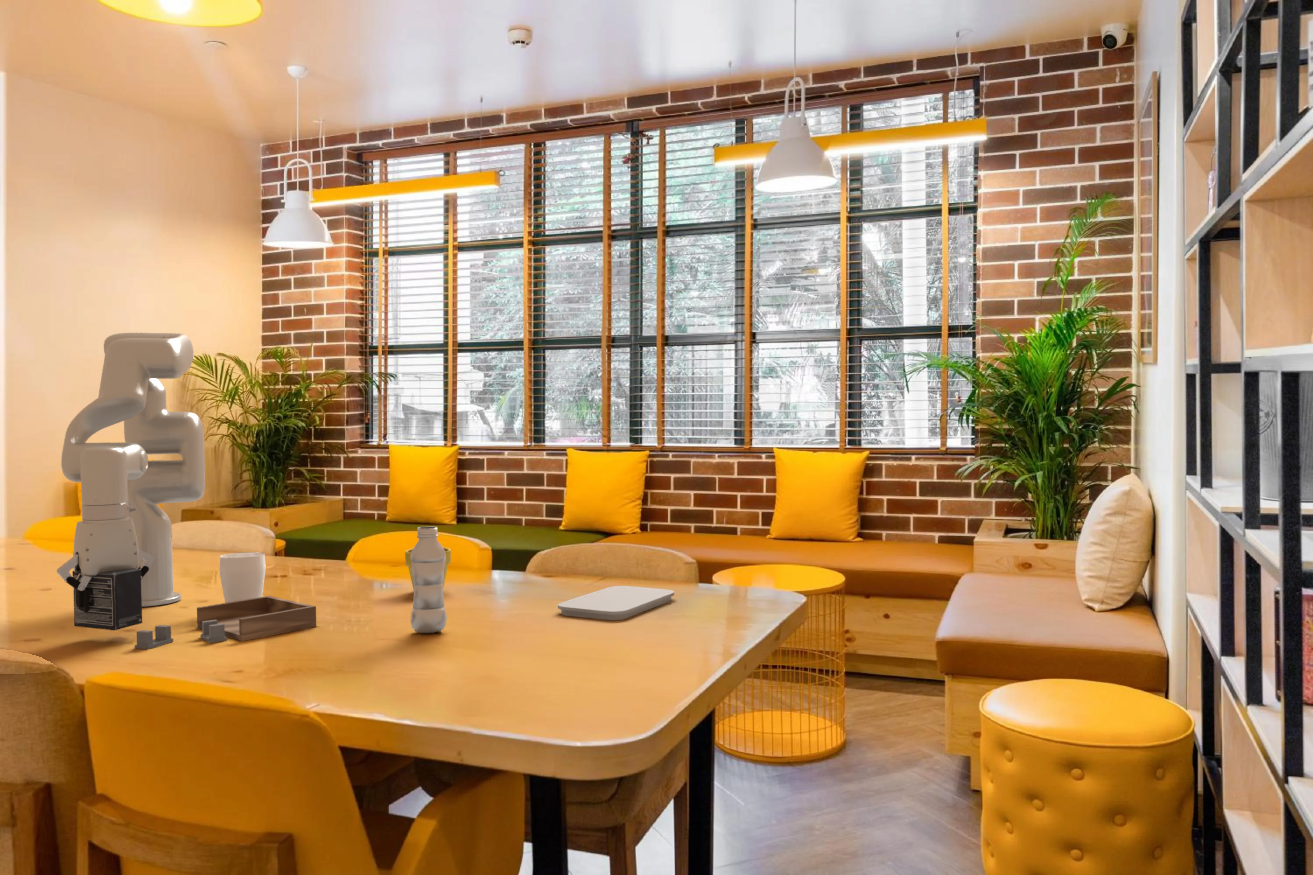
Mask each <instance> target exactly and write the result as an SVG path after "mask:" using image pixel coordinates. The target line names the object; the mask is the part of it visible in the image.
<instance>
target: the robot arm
mask: <svg viewBox="0 0 1313 875" xmlns="http://www.w3.org/2000/svg"><path fill="white" fill-rule="evenodd" d="M103 353H104V357H103V358H104V360H103V365H102V369H101V370H102V373H101V378H100V385H99V390H98V397H97V398H96V399H94V400H93V401H90V403H89V404H87V405H86V406H85V407H84V408H82V409H80V411H78V413H77V414H76V415H75V416H74V417H73V419H72V420H71V421H70V423H69V424H68V426H67V428H66V431H65V436H64V440H63V445H62V452H61V462H60V463H61V464H60V466H61V470H62V474H63V475H64V477H65V478H66V479H67V480H68V481H70V482H73V483H80V492H81V495H80V496H81V519H82V520H81V521H77V523H76V527H75V531H74V539H73V550H72V557H71V558H69V559H68V560H66V562H64V563H63V564H62V565H60V566H59V567H58V568H57V569H56V573H57V574H58V575H59V577H61V579H62V580H63V581H64V582H65V583H67V584H68V586H71V587H72V588H73V590H74V589H75V590H76V606H77V607H79V610H81V611H84V612H88V611H89V591H88V590H86V586H87V584H88V583H89V581H90V579H91V578H92V576H96V575H97V574H98V573H101V572H107V571H114V570H123V569H141V596H142V607H154V606H156V607H157V606H161V605H168V604H171V603H175V602H178V601H180V600H181V599H182V594H181V593H180V592H176V591H174V568H173V567H174V566H173V563H174V562H173V560H174V558H173V531H172V530H173V528H172V522H171V519H170V517H169V516H168V514H167V513H166V512H165V511H164V510H163V509H162V507H160V506H159V504H166V503H167V504H169V503H170V504H171V503H175V504H176V503H192V502H196V501H199V500H201V499H202V498H203V496H204V494H205V492H206V460H205V459H206V456H205V434H204V433H205V430H204V426H203V425H204V424H203V421H202V420H201V417H200V416H199V415H198V414H196V413H194V412H191V411H168V409H167V408H168V407H167V390H166V388H165V386H164V385H163V383H162V381H161V380H162V379H163V380H164V379H165V380H166V379H173V380H174V379H175V380H176V379H179V378H181V377H182V376H183V375H184V374H186V373H187V372H188V371H189V370H190V368H191V366H192V365H193V360H194V347H193V344H192V341H191V339H190V338H189V337H188V336H187V335H185V334H184V333H176V332H175V333H172V332H170V333H168V332H167V333H166V332H160V333H159V332H120V333H115V334H111V335H108V336H107V337H106V338H105V340H104V342H103ZM160 379H161V380H160ZM121 422H123V434H124V442H87V441H88V440H89V439H90V437H92V436H93V435H94V434H96V433H98V432H100V431H101V430H103V429H105V428H109V427H111V426H113V425H116V424H120V423H121ZM148 455H179V456H180V457H181V458H182V459H175V460H174V459H173V460H172V459H171V460H169V459H167V460H165V459H163V460H162V459H160V460H159V459H158V460H156V459H155V460H149V458H148ZM72 569H73V571H74V572H76V573H78V574H79V575H78V577H77V578H76V579H75V578H74V577H73V575H71V573H70V571H71V570H72ZM79 571H81V572H80V573H79Z"/></svg>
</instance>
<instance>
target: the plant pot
mask: <svg viewBox="0 0 1313 875" xmlns="http://www.w3.org/2000/svg"><path fill="white" fill-rule="evenodd" d="M442 547H443V548H444V550H445V553H446V560H445V568H444V578H443V589H444V588H445V583H446V577H447V573H448V569H449V568H448V567H449V565H450V564H451V562H452V550H451V548H449V547H444V546H442ZM412 550H413V548H410V549H409V548H408V549H406V550H405V551H404V561H405V562H404V563H405V566H407V567H408V570H409V571H408V572H409V575H410V580H411V581H410V582H411V584H412V588H413V589H412V590H413V591H414V582H413V572H412V565H411V557H410V556H411V553H412Z"/></svg>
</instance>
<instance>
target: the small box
mask: <svg viewBox="0 0 1313 875" xmlns="http://www.w3.org/2000/svg"><path fill="white" fill-rule="evenodd" d="M80 572H81V571H79V573H80ZM78 575H79V574H78V573H76V572H74V570H72V577H74V578H75V579H76V578H77V577H78ZM86 590H88V591H89V611H88V612H84V611H81V610H79V607H77V606H76V590H75V589H74V588H73V613H74V614H73V615H74V616H73V619H74V620H73V621H74V623H73V627H75V628H76V627H77V628H78V627H79V628H88V629H98V630H107V631H119V630H122V629H125V628H129V627H133V626H137V625H140V624H143V608H142V596H141V569H123V570H114V571H107V572H101V573H98V574H97V575H96V576H92V578H91V579H90V581H89V583H88V584H87V586H86Z"/></svg>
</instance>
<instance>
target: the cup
mask: <svg viewBox="0 0 1313 875" xmlns="http://www.w3.org/2000/svg"><path fill="white" fill-rule="evenodd" d="M265 555H266V554H265V552H258V551H252V552H251V551H247V552H233V553H226V554H221V555H220V556H219V576H220V581H221V582H220V583H221V588H222V594H223V599H224V603H228V602H234V601H241V600H247V599H253V598H259V597H263V595H264V587H265V586H264V584H265V577H266V567H267V566H266V556H265Z"/></svg>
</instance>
